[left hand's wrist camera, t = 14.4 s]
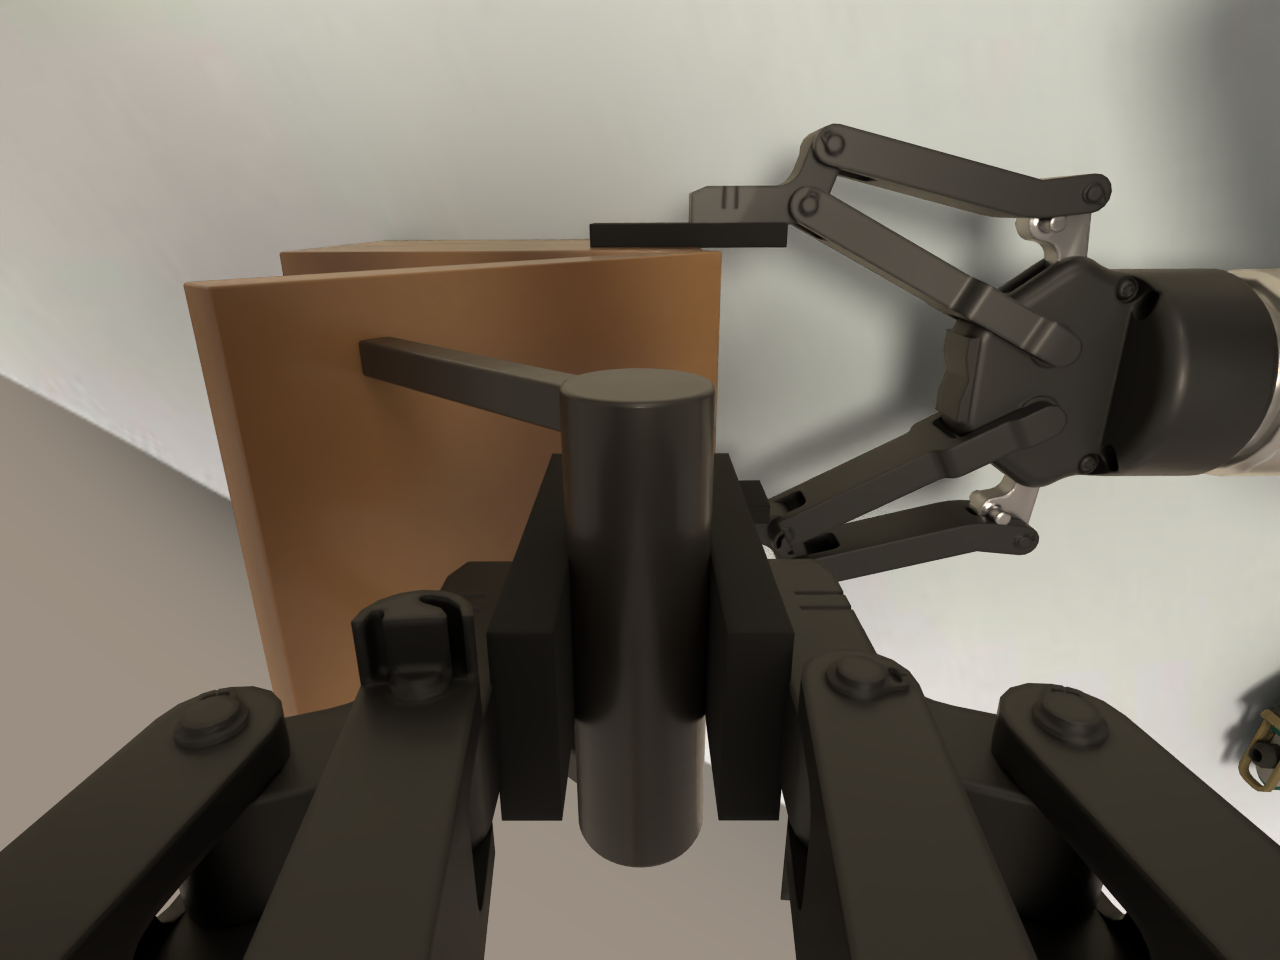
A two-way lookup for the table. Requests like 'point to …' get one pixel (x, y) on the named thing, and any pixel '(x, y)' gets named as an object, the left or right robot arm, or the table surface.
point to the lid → (488, 482)
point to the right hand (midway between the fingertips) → (596, 377)
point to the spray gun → (1264, 754)
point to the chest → (442, 254)
